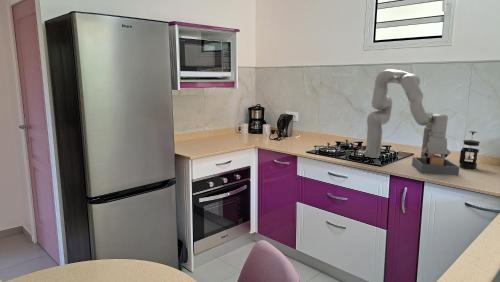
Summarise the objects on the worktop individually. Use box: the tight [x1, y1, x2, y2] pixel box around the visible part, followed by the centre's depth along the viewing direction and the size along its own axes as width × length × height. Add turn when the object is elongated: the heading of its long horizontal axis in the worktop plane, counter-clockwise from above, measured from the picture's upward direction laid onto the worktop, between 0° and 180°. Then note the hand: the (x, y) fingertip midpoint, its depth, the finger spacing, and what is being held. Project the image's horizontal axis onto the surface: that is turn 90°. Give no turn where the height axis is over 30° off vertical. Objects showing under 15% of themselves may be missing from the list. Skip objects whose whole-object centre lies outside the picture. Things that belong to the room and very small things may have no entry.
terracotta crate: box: [426, 154, 444, 166], centre depth 212 cm, size 7×9×6 cm
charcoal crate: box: [411, 156, 461, 177], centre depth 213 cm, size 20×20×5 cm
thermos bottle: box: [420, 125, 436, 158], centre depth 233 cm, size 8×8×28 cm
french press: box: [458, 130, 481, 171], centre depth 219 cm, size 12×9×23 cm
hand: (434, 164), depth 213 cm, fingers closed on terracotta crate, 6 cm apart
